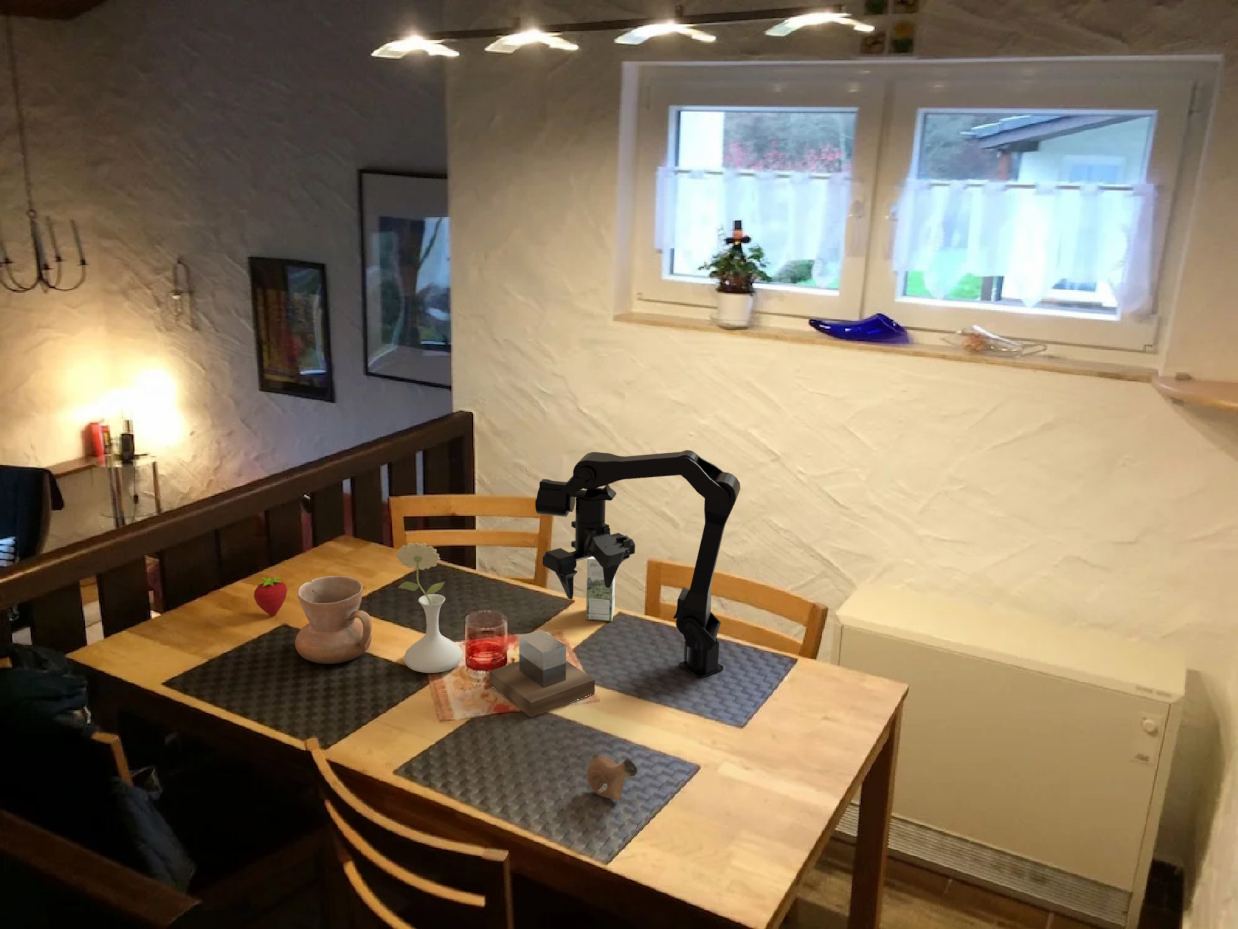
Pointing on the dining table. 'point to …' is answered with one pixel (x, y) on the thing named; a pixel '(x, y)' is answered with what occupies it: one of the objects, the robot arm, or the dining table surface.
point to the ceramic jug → (333, 620)
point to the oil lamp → (609, 776)
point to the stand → (540, 689)
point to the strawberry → (270, 595)
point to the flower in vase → (428, 617)
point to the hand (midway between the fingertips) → (589, 593)
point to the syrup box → (598, 593)
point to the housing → (542, 658)
